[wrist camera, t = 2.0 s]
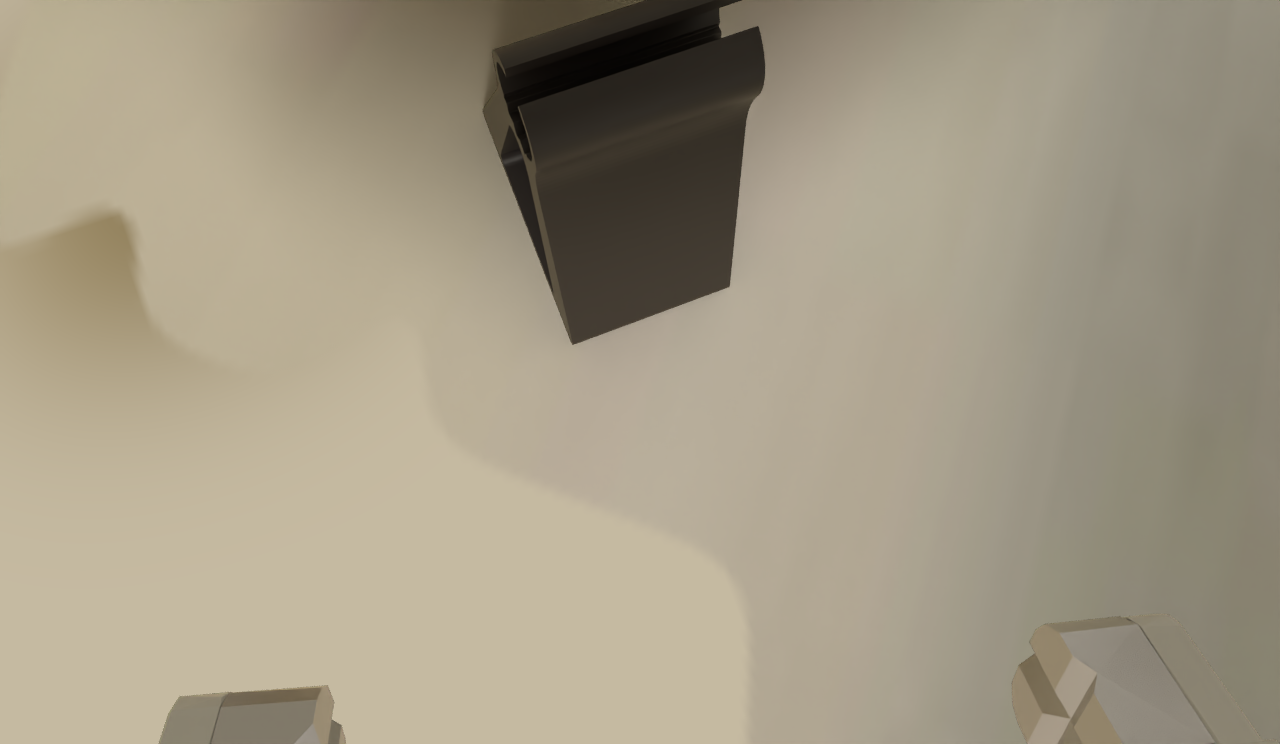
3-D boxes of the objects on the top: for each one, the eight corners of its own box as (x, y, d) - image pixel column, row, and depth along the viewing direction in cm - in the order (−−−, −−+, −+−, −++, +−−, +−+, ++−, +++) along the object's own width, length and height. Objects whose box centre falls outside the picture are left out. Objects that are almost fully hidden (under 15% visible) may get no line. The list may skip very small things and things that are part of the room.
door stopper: (483, 113, 33) (442, -91, 21) (638, 63, 34) (683, -162, 22) (571, 346, 32) (579, 270, 20) (727, 289, 33) (823, 184, 21)
